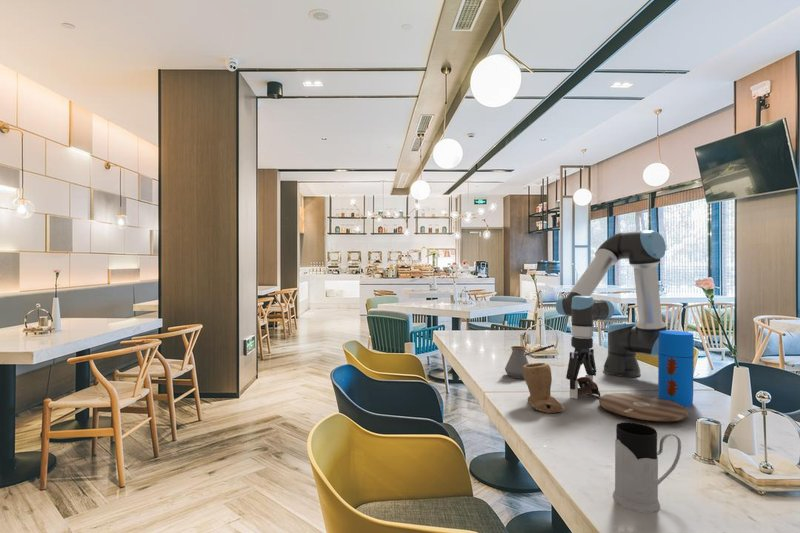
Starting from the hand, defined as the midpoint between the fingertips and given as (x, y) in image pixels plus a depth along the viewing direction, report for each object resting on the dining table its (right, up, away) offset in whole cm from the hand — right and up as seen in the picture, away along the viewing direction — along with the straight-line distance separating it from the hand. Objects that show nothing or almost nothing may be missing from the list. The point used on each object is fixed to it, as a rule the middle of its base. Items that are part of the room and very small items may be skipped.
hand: (581, 394), depth 164 cm
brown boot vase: (-20, 0, -14) cm, 24 cm away
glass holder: (-17, 0, -73) cm, 75 cm away
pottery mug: (+1, -1, 0) cm, 1 cm away
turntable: (+13, +1, -18) cm, 22 cm away
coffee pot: (-12, 0, +27) cm, 29 cm away
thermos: (+31, -1, -6) cm, 32 cm away
